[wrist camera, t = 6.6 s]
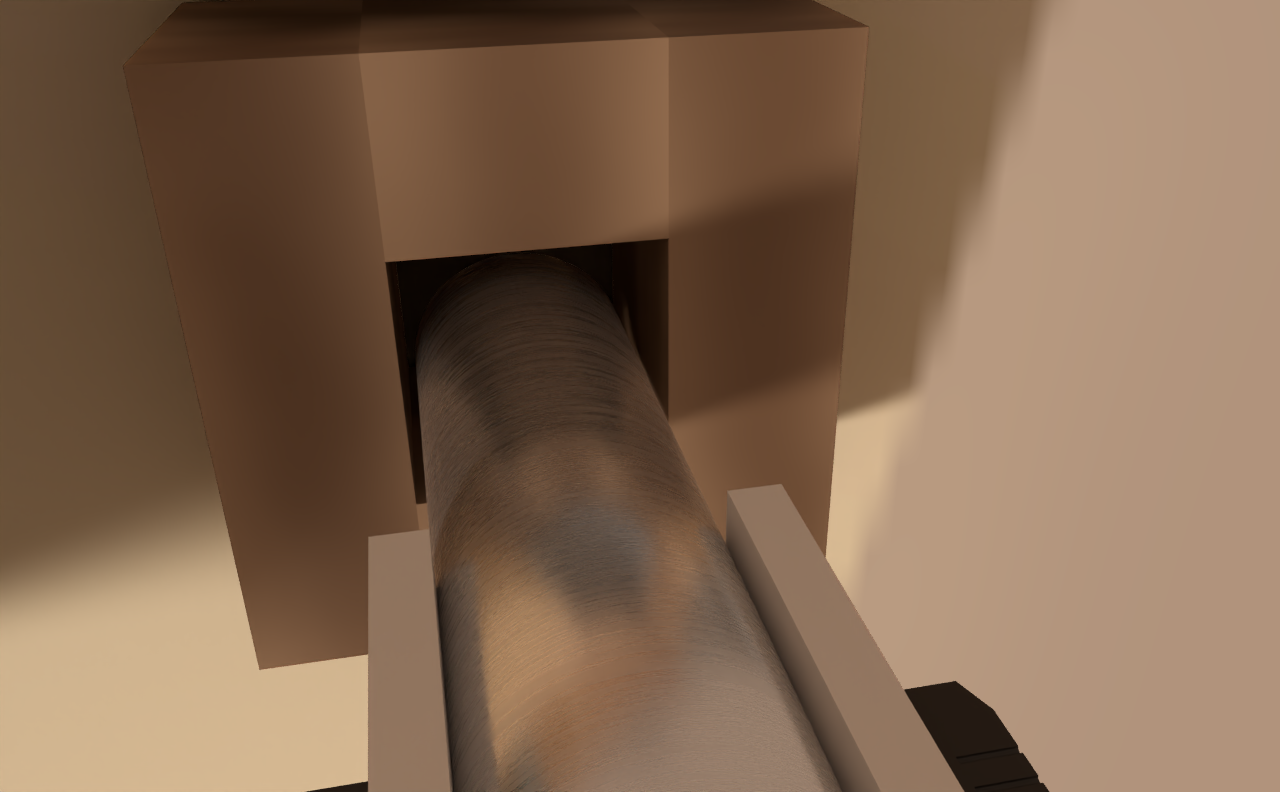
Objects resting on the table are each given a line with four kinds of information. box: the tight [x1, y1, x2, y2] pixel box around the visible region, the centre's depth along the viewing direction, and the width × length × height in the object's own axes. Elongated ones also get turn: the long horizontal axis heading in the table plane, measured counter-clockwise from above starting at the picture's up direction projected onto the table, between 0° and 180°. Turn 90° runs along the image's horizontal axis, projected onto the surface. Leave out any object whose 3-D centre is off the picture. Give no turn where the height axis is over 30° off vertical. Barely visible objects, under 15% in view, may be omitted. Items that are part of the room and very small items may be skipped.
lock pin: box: [415, 253, 843, 792], centre depth 14 cm, size 4×4×18 cm
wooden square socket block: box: [123, 0, 869, 670], centre depth 23 cm, size 12×12×6 cm
